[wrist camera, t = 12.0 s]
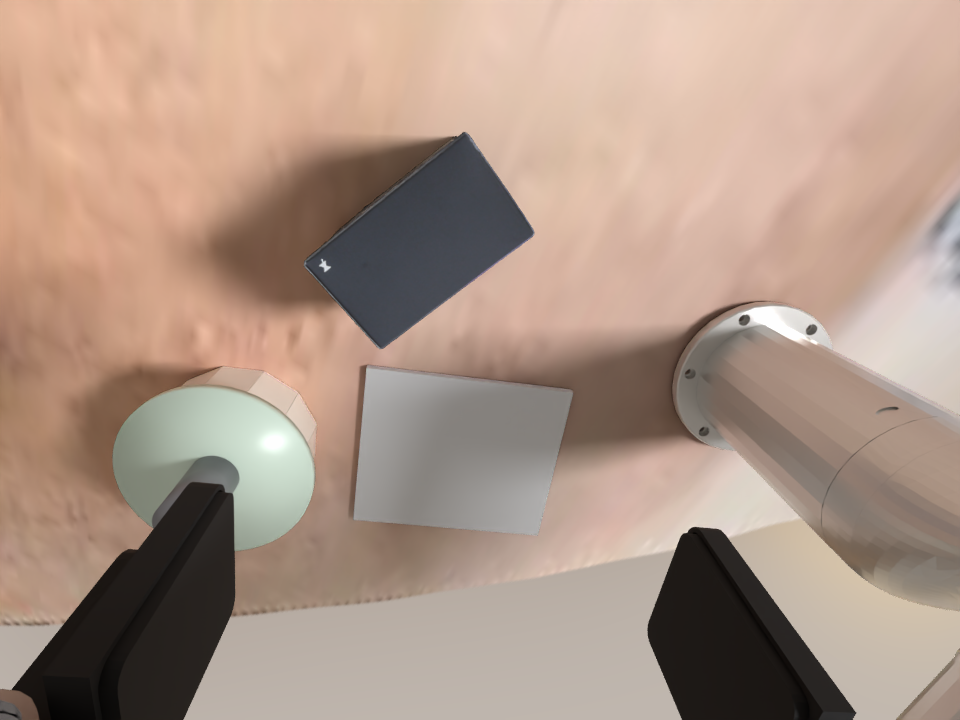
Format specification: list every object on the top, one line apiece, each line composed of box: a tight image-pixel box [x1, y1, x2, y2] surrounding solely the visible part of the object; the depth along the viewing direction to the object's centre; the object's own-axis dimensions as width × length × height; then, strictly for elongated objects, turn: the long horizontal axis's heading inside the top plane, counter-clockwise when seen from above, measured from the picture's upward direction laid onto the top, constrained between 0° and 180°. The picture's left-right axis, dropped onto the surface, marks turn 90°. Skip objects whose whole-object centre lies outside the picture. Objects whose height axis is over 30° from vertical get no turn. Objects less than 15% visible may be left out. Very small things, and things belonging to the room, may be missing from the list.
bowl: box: [182, 366, 317, 459], centre depth 38 cm, size 11×11×5 cm
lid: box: [112, 384, 315, 551], centre depth 33 cm, size 13×13×6 cm
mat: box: [353, 365, 573, 536], centre depth 42 cm, size 16×14×1 cm
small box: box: [304, 132, 534, 349], centre depth 31 cm, size 11×6×10 cm, turn 127°
